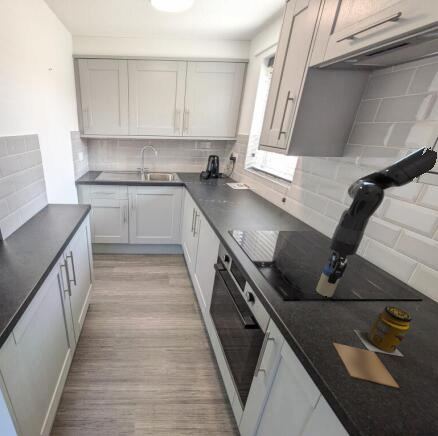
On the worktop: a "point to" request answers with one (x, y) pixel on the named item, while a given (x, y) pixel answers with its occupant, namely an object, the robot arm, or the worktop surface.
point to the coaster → (364, 365)
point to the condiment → (386, 331)
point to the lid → (328, 271)
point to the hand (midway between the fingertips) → (330, 278)
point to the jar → (326, 286)
